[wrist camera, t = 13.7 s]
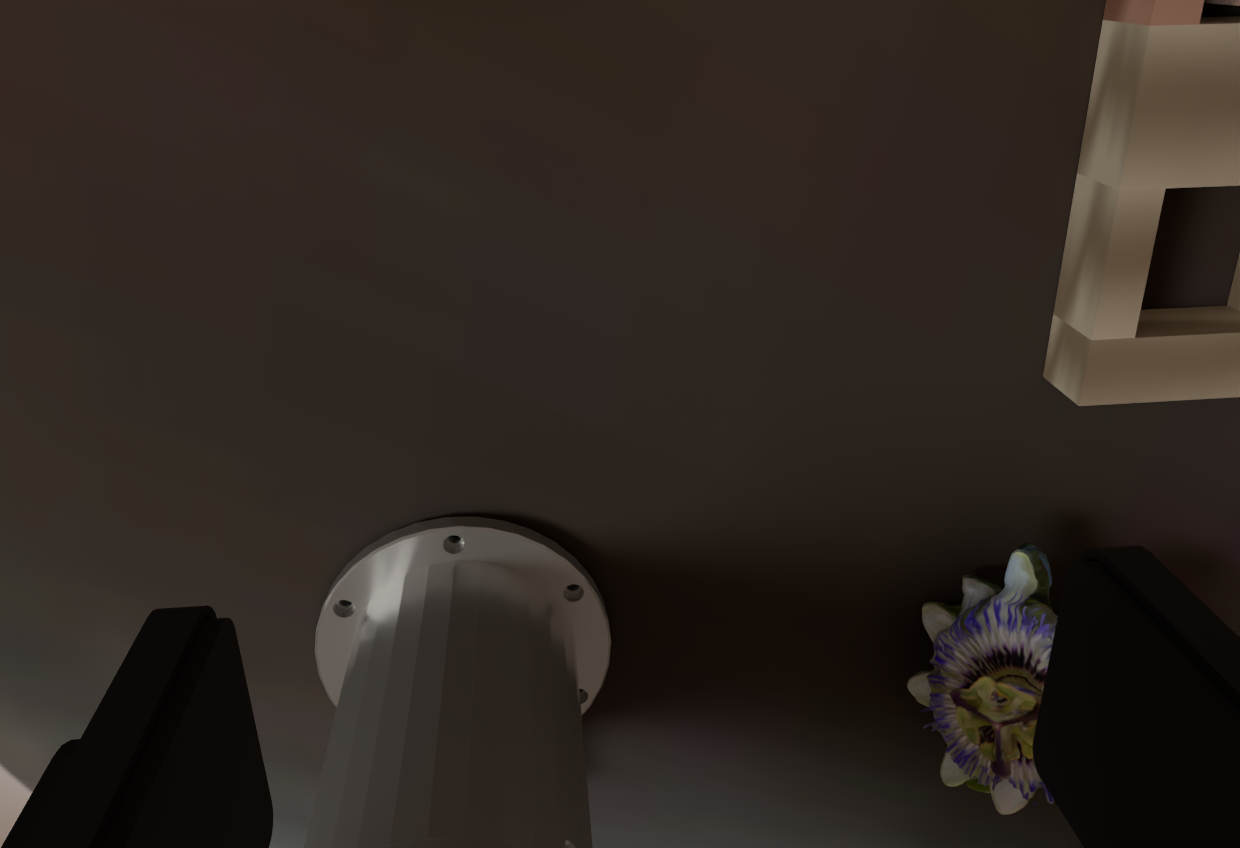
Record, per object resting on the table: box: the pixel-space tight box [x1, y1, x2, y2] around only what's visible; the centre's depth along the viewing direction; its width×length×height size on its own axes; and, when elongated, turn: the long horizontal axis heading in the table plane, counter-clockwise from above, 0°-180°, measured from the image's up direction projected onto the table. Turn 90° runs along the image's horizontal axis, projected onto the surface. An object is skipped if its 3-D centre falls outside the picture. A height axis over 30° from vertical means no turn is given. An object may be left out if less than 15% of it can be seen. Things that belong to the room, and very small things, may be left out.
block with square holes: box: [1043, 0, 1240, 406], centre depth 37 cm, size 22×9×3 cm, turn 1°
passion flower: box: [907, 543, 1058, 815], centre depth 45 cm, size 11×11×12 cm
